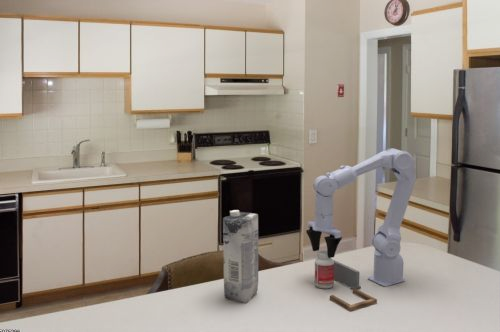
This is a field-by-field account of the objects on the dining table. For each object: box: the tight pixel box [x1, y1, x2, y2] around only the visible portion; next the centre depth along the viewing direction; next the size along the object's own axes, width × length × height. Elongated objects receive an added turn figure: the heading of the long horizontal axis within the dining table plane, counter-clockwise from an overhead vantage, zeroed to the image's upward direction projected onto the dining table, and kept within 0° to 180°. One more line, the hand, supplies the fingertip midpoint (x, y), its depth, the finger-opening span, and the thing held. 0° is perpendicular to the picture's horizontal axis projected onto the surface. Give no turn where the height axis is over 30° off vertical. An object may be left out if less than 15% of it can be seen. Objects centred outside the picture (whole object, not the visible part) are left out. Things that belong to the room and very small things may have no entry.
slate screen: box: [333, 259, 362, 291], centre depth 155 cm, size 3×14×6 cm, turn 30°
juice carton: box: [222, 209, 259, 304], centre depth 143 cm, size 9×10×27 cm
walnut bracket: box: [329, 289, 378, 312], centre depth 141 cm, size 10×9×1 cm
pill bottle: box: [314, 250, 335, 289], centre depth 152 cm, size 6×6×11 cm
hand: (323, 253), depth 153 cm, fingers open, 7 cm apart
